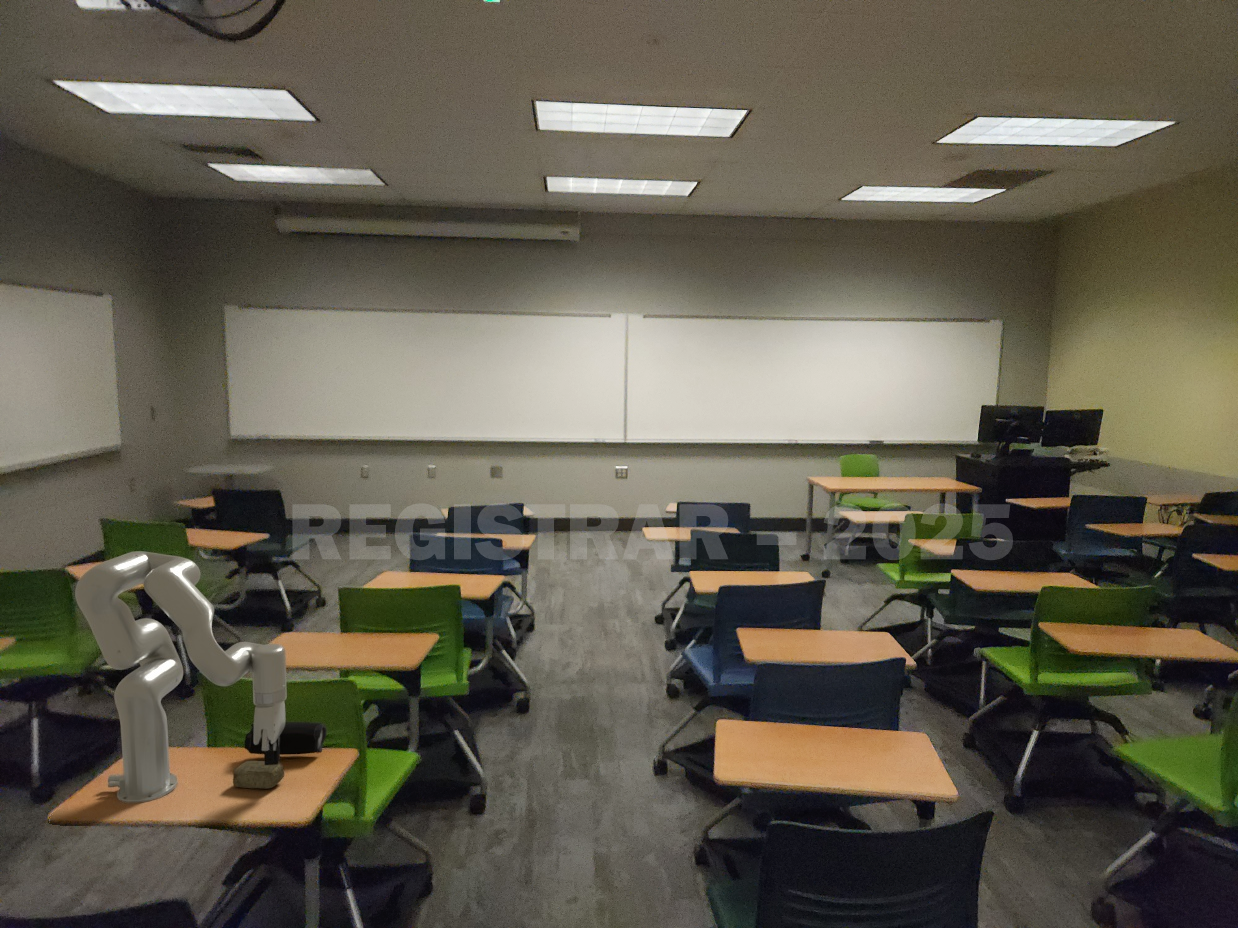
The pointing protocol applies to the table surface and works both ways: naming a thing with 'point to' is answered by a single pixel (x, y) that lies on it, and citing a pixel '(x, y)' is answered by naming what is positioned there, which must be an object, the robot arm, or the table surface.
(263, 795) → the table surface
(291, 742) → the portable speaker
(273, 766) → the stone block
